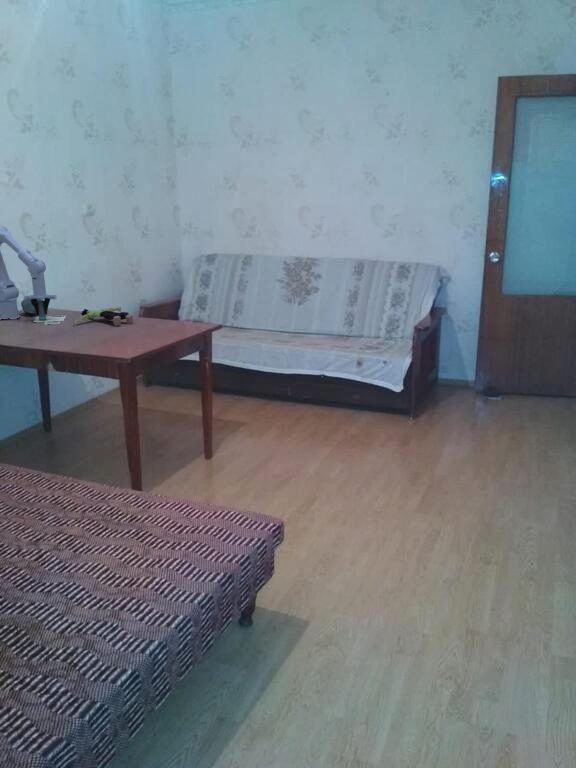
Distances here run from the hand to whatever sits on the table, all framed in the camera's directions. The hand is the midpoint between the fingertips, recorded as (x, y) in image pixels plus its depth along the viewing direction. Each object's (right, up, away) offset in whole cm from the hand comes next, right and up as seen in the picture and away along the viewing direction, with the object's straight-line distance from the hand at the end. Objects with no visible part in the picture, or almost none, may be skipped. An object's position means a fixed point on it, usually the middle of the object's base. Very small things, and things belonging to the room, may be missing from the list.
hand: (42, 314), depth 303 cm
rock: (-11, +2, +17) cm, 21 cm away
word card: (+7, -5, -5) cm, 10 cm away
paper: (+2, -2, +4) cm, 5 cm away
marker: (0, -3, +1) cm, 3 cm away
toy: (+31, -4, 0) cm, 31 cm away
